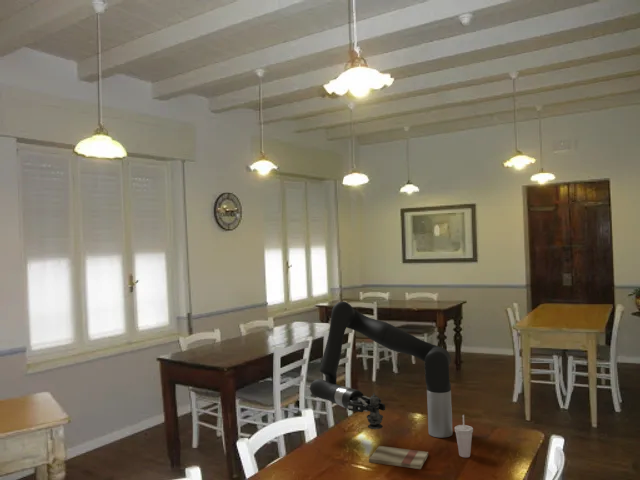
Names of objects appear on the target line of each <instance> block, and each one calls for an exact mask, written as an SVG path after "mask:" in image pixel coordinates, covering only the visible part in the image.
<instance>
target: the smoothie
mask: <svg viewBox="0 0 640 480" xmlns="http://www.w3.org/2000/svg"><path fill="white" fill-rule="evenodd" d="M454 432H455V437H456V442H457V443H456V444H457V448H458V449H457V450H458V455H459V457H462V458H470V456H471V450H472V438H473V432H474V428H473V426H470V425H467V424H465V414H462V424H458V425H456V426H454Z"/></svg>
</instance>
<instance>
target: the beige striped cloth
mask: <svg viewBox="0 0 640 480" xmlns="http://www.w3.org/2000/svg"><path fill="white" fill-rule="evenodd" d="M428 457H429V451H423V450H418V449H417V450H416V449H415V450H414V449H408V448H407V449H406V448H397V447H391V446H383V445H379V446H378V447H377V448H376V449H375V451H374V452H373V453H372V455H370V457H369V458H368V463H374V464H380V465H388V466H393V467H394V466H396V467H403V468H410V469H416V470H421V469H422V468H423V465H424V464H425V462H426V460H427V459H428Z"/></svg>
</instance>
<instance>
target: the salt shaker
mask: <svg viewBox="0 0 640 480" xmlns="http://www.w3.org/2000/svg"><path fill="white" fill-rule="evenodd" d="M369 398H370V405H372V406H375V407H376V411H377V412H376V413H372V412H370V413H369V414H368V415H366V418H367V421H368V423H369V424H368V425H367V428H368V429H370V430H380V429H382V428H384V426H383V424H382V422H383V419H384V416H383V415H382V414H381V413H380V409H379V405H378V398H379V397H378V395H376V393H375V392H373V393H372V395H371V396H369Z"/></svg>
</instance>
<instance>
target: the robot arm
mask: <svg viewBox="0 0 640 480" xmlns="http://www.w3.org/2000/svg"><path fill="white" fill-rule="evenodd" d="M331 309H332V310H331V315H330V316H331V317H330V326H329V331H328V332H329V333H328V337H327V341H326V344H325V348H324V352H323V356H322V358H321V362H320V367H319V372H321V373H322V374H323V375H324V378H325V379H324V380H323V379H322V378H321V379H320V378H316V379H314V380H313V381H312V382H311V383H310V387H309V389H310V393H311V395H313V397H315V398H319V399H322V400H326V401H328V402H331V403H333V404H336V405H338V406H340V407H342V408H343V409H347V410H348V411H351V412H357V413H363V412H372V413H376V412H377V411H376V407H375V406H372V405H370V396H367V395H364V393H363V392H362V391H361V390H359V389H355V388H351V387H348V386H343V385H341V384H337V375H338V373H337V372H338V368H339V365H340V360H341V355H342V348H343V343H344V342H343V341H344V337H345V333H346V329H350V330H352V331H355V332H357V333H360V334H362V335H363V336H365V337H367V338H368V339H370V340H372V341H373V342H375V343H377V344H378V345H380V346H382V347H384V348H386V349H389V350H391V351H393V352H397V353H401V354H405V355H410V356H412V357H415V358H416V359H417V358H418V359H420V360H421V361H422V362H424V377H425V379H424V380H425V384H426V398H427V399H426V400H427V401H426V402H427V403H426V404H427V426H428V427H427V429H428V432H427V433H428V435H429V436H431V437H434V438H442V439H443V438H449V437H451V436H453V412H452V411H453V410H452V386H451V385H452V383H451V381H450V365H451V363H452V362H451V361H452V357H451V354H450V353H449V352H448V350H447V349H446V348H444V347H441V346H440V345H439V346H438V345H435V344H433V343H430V342H427V341H424V340H423V339H420V338H419V337H416V336H414V335H413V334H410V333H409V332H407V331H406V330H405V331H404V330H403V329H401V328H399V327H398V326H395V325H393V324H391V323H388V322H386V321H382V320H379V319H375V318H372V317H369V316H367V315H365V314H363V313H361V312H359V311H358V310H356V309H355V308H353V306H352V305H351V304H350V303H348V302H347V301H338V302H336V303H335V304H334V305H333V306H332V308H331ZM378 405H379V411H380V410H381V411H386V404H385V403H382V399H381V398H380V397H378Z"/></svg>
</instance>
